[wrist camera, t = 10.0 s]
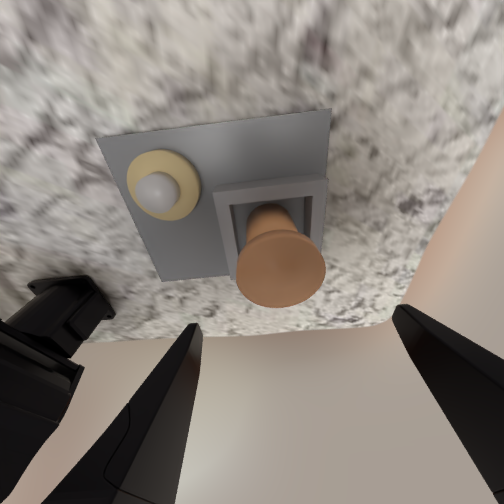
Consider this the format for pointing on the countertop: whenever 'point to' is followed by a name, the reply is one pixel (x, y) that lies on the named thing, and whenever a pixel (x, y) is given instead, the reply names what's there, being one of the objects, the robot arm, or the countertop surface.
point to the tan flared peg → (277, 260)
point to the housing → (219, 186)
